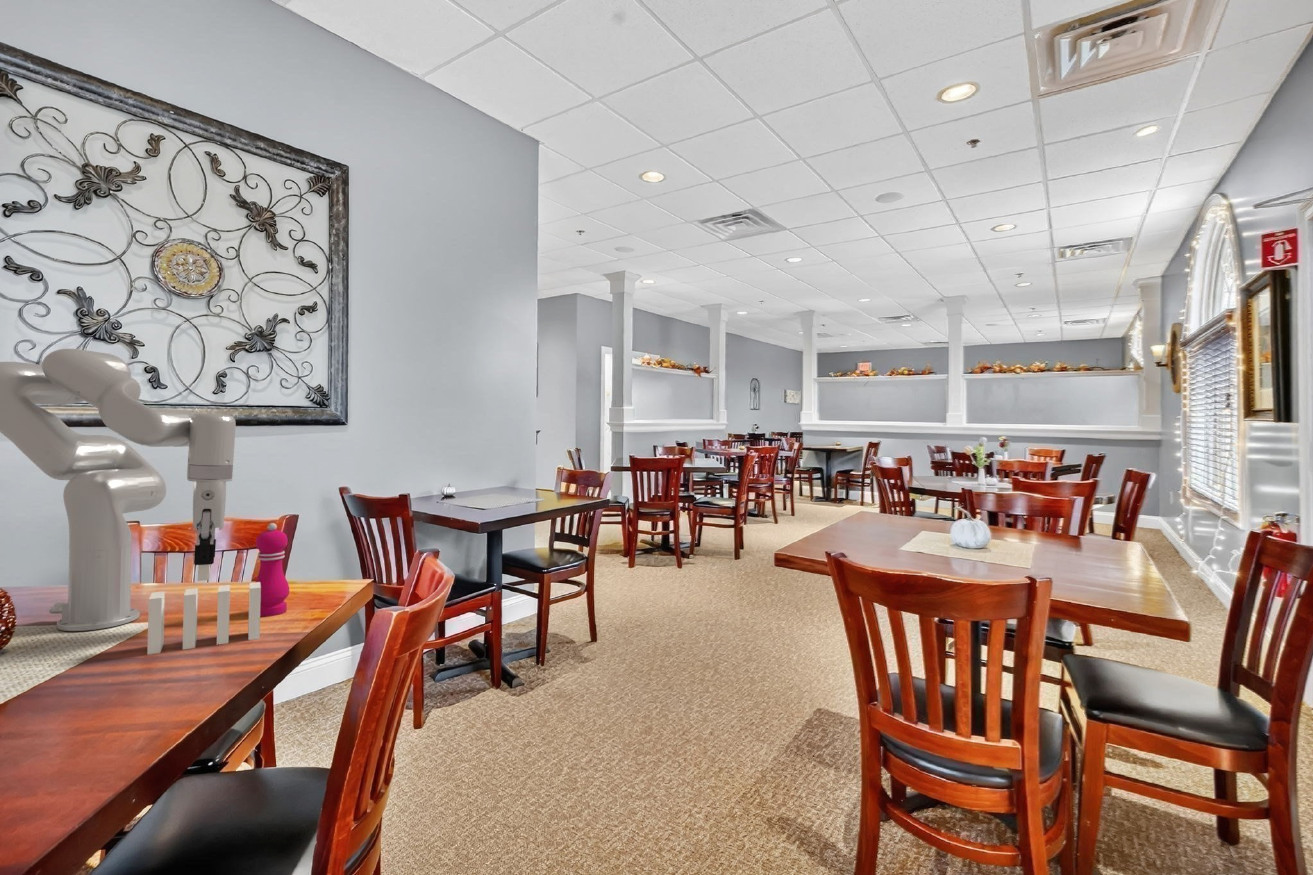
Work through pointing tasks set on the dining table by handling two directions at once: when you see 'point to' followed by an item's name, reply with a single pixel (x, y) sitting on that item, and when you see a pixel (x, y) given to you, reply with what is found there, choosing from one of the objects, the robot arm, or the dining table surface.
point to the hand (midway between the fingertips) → (204, 560)
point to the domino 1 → (156, 622)
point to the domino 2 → (190, 618)
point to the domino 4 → (254, 611)
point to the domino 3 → (223, 614)
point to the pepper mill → (272, 571)
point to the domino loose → (204, 570)
